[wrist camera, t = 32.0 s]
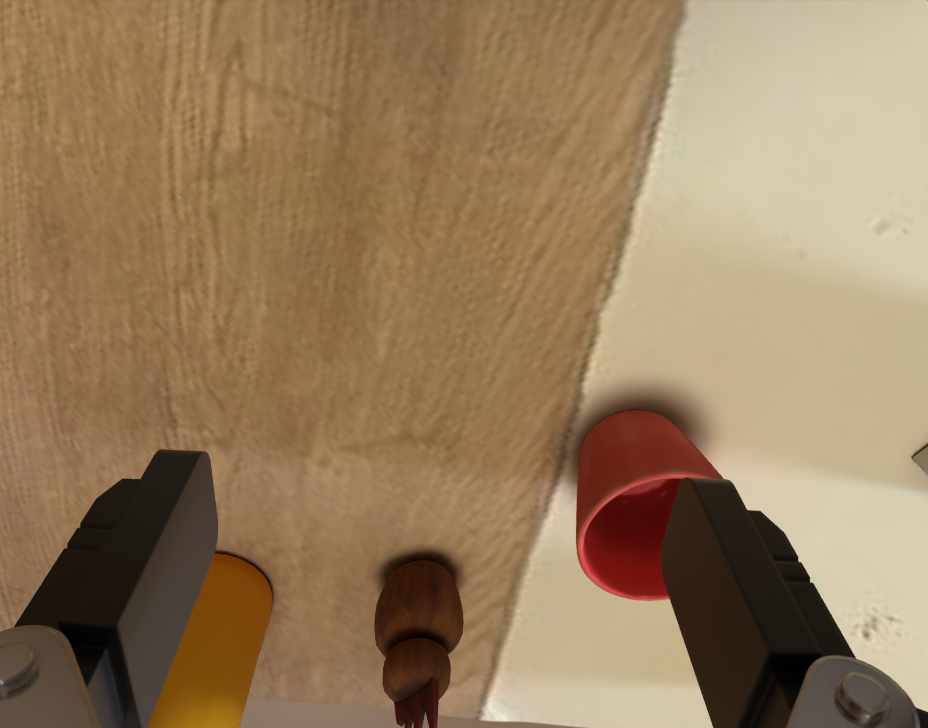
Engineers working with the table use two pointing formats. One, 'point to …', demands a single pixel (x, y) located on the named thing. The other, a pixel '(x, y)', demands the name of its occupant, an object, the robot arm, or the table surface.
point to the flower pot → (631, 499)
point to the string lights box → (922, 460)
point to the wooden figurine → (418, 638)
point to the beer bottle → (217, 649)
